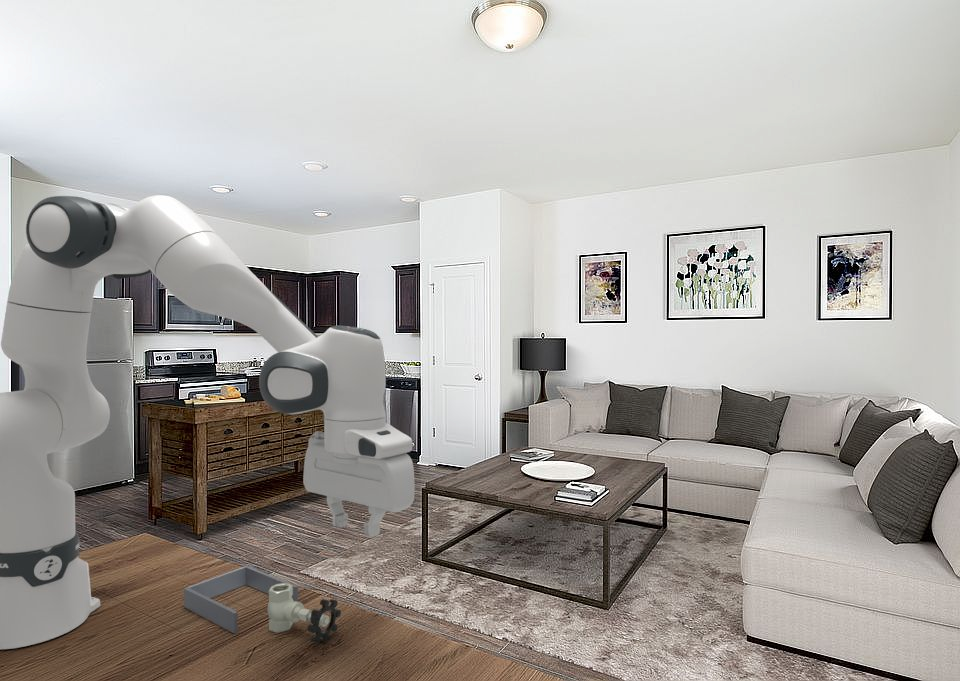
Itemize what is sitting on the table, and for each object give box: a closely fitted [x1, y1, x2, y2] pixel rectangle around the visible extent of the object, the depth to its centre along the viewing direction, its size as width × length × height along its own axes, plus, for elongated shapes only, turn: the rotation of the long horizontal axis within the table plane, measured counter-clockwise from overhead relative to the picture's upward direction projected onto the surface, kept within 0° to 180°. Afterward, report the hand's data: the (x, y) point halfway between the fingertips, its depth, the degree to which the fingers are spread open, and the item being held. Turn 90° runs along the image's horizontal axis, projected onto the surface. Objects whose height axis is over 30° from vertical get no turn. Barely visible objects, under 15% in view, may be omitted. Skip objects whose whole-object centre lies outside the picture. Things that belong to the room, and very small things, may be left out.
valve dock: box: [183, 565, 299, 635], centre depth 103 cm, size 16×12×3 cm
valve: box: [266, 583, 342, 644], centre depth 94 cm, size 7×7×12 cm
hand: (355, 530), depth 85 cm, fingers open, 5 cm apart
